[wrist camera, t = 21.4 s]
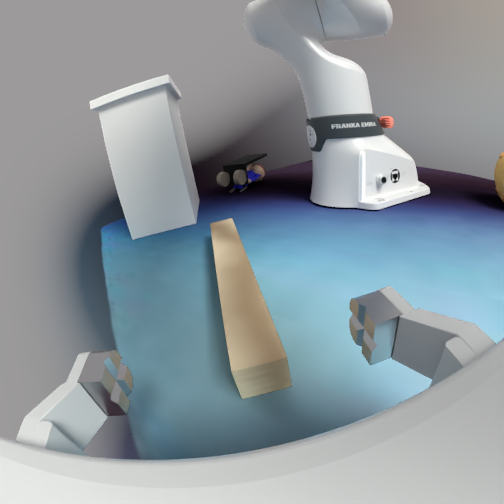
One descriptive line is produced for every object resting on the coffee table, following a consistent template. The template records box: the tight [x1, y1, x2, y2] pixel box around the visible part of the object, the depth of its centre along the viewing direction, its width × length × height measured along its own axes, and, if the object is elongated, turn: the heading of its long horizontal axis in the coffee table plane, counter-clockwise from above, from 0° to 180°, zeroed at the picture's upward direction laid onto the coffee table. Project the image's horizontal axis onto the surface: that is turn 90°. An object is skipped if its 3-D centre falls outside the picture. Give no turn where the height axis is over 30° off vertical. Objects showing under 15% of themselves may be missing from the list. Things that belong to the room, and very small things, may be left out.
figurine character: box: [217, 154, 267, 193], centre depth 67 cm, size 7×8×15 cm
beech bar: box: [210, 218, 292, 399], centre depth 26 cm, size 3×26×3 cm, turn 10°
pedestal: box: [90, 75, 199, 240], centre depth 50 cm, size 14×20×26 cm
